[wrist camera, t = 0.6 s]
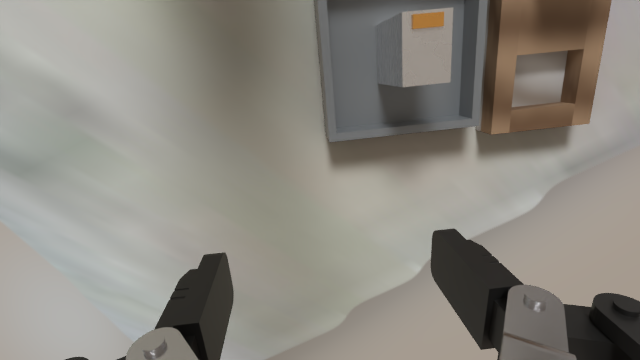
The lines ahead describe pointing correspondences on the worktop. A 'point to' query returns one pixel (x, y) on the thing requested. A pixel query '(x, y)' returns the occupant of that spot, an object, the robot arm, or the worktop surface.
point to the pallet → (540, 63)
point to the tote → (385, 100)
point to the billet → (415, 48)
